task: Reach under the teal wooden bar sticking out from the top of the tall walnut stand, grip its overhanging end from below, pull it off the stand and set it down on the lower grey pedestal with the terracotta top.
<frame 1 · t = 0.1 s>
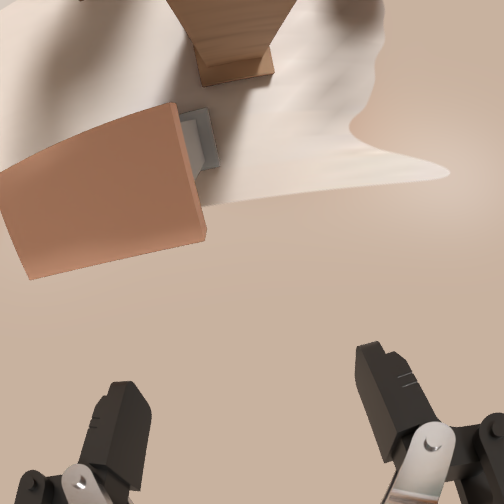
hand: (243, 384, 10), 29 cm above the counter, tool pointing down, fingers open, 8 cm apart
ledge: (164, 148, 34), on the counter
stand: (228, 33, 28), on the counter
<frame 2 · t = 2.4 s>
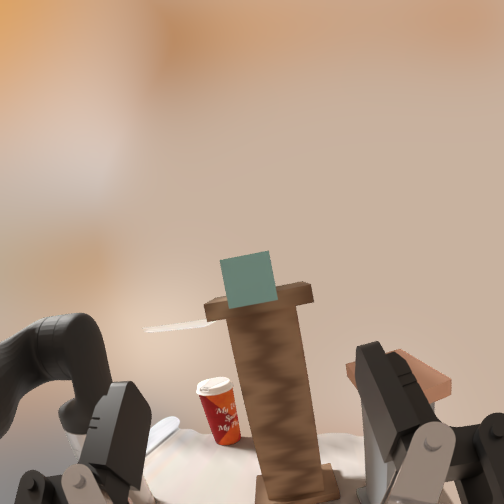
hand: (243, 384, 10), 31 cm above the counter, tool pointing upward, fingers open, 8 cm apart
bar: (257, 292, 37), point 32 cm above the counter, touching stand
paper cup: (228, 439, 57), on the counter
stand: (296, 491, 36), on the counter
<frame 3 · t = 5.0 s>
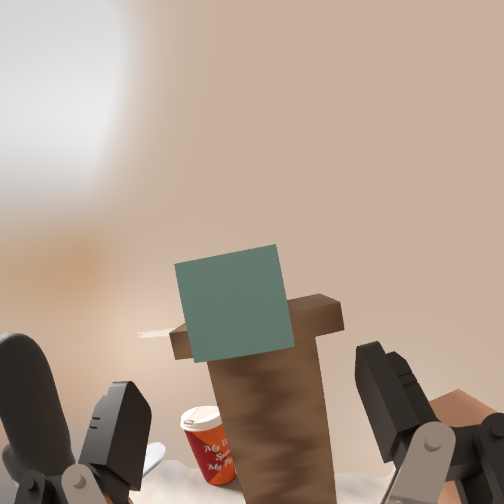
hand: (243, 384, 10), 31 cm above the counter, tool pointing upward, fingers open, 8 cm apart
bar: (254, 313, 23), point 32 cm above the counter, touching stand
paper cup: (221, 477, 44), on the counter
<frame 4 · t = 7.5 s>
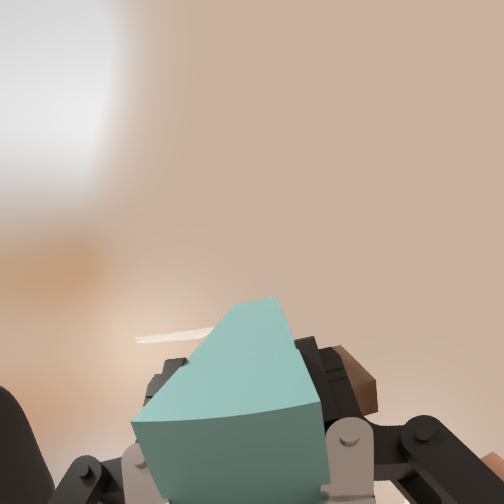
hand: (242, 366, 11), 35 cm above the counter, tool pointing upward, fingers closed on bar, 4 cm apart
bar: (262, 384, 17), point 32 cm above the counter, touching gripper, stand
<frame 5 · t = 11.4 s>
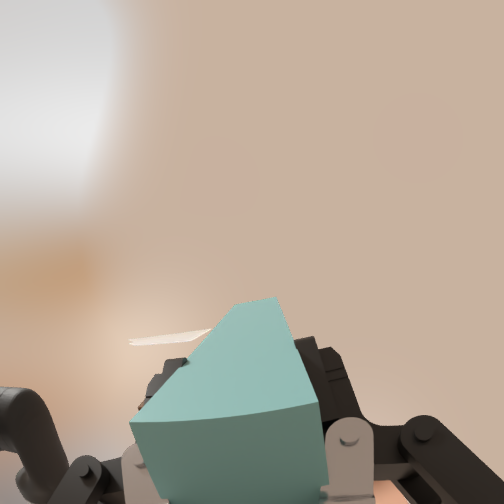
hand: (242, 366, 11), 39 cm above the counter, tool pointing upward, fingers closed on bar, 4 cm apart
bar: (261, 385, 17), point 36 cm above the counter, touching gripper
when the fingers open (26 cm above the counter, at t = 15.5 s): bar stays where it is, resting on ledge.
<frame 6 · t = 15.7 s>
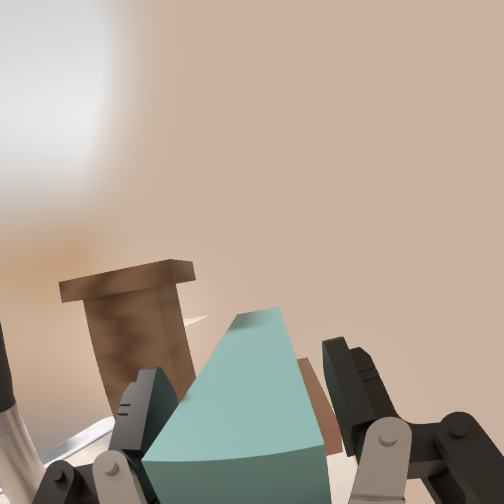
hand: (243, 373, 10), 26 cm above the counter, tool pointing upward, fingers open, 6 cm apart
bar: (265, 400, 17), point 22 cm above the counter, touching ledge
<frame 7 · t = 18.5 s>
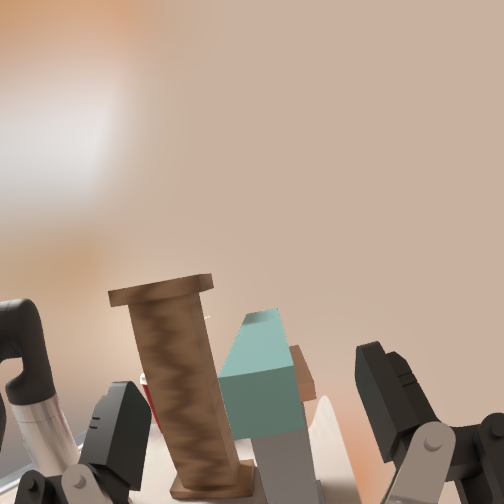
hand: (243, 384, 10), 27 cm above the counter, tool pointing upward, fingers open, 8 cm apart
bar: (268, 370, 27), point 22 cm above the counter, touching ledge
paper cup: (173, 429, 58), on the counter
stand: (215, 483, 37), on the counter
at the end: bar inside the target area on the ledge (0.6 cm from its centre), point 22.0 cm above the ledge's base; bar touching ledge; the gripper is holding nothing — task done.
